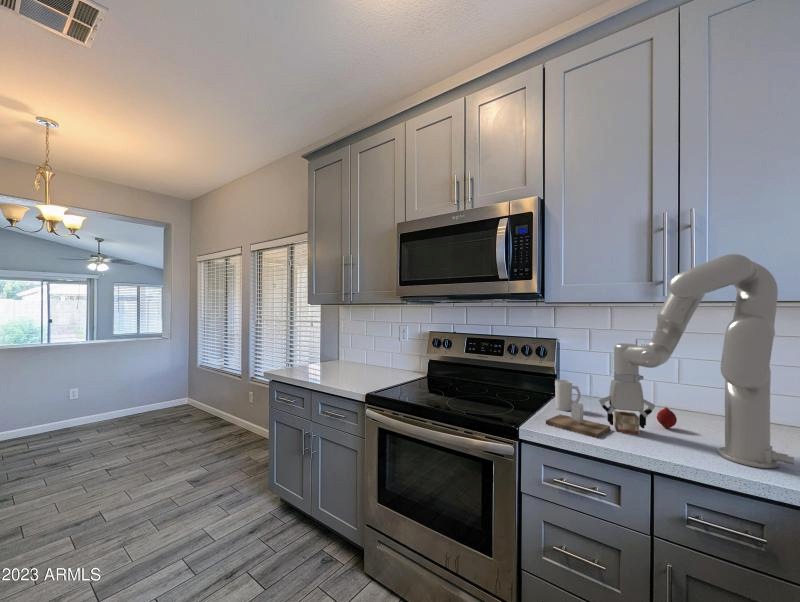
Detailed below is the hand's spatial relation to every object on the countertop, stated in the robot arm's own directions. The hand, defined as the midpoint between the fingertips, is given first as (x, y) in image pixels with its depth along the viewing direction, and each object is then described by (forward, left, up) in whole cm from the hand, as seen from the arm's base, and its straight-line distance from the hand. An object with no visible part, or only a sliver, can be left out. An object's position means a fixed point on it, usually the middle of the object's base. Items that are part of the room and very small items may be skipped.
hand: (626, 425), depth 126 cm
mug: (+25, -10, -2) cm, 27 cm away
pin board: (+13, +10, -2) cm, 17 cm away
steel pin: (+13, +10, 0) cm, 16 cm away
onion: (-9, -14, -2) cm, 17 cm away
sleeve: (0, 0, -2) cm, 2 cm away
